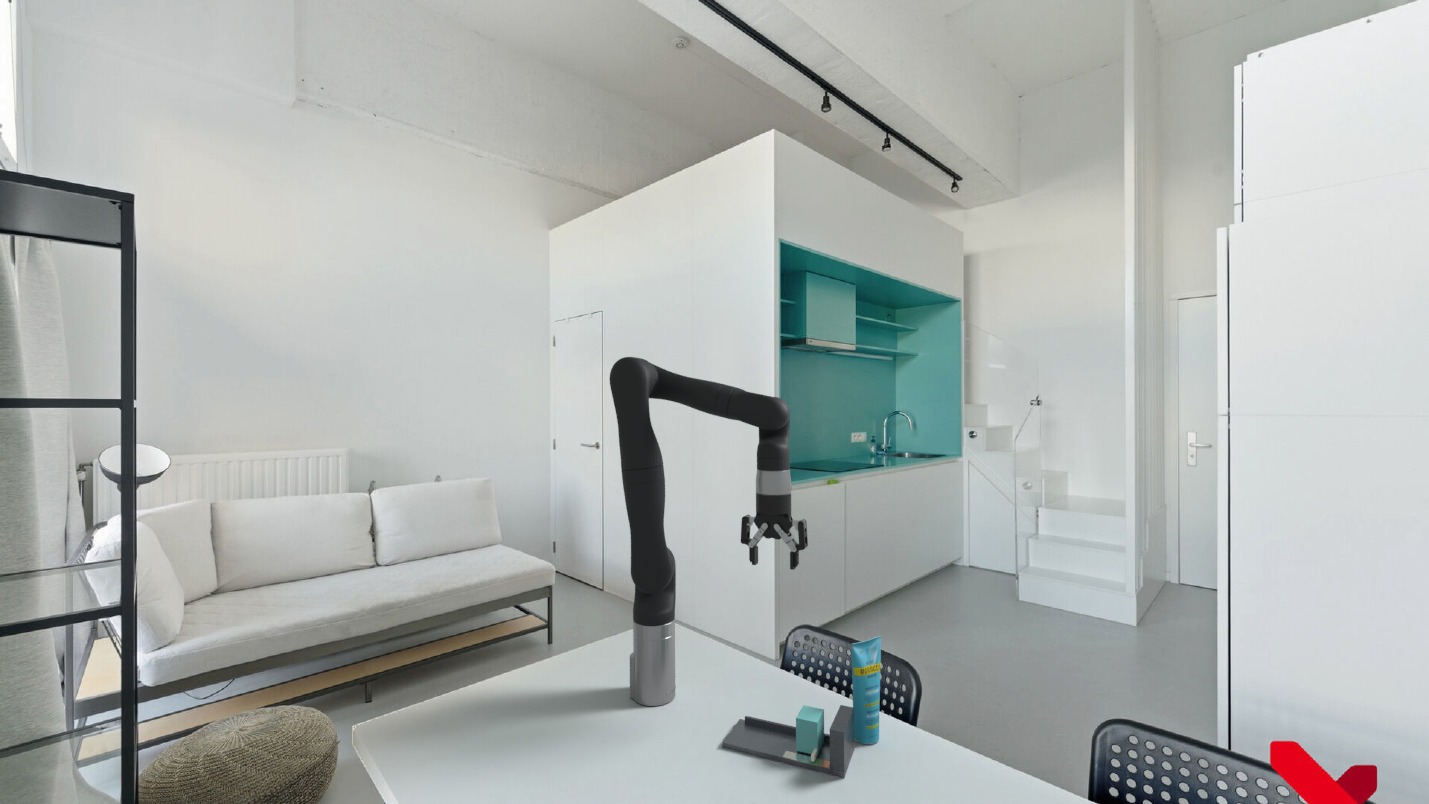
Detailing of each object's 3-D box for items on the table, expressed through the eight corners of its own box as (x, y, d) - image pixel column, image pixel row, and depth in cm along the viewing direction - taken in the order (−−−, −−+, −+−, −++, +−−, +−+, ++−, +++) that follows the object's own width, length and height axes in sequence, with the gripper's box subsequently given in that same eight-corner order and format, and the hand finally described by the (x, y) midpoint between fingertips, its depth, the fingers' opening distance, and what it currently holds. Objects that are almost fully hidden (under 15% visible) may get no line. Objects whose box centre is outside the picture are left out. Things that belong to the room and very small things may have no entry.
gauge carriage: (792, 757, 107) (792, 724, 107) (803, 736, 114) (803, 705, 114) (814, 762, 106) (814, 729, 106) (824, 741, 112) (824, 709, 112)
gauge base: (722, 747, 113) (722, 705, 113) (739, 723, 121) (739, 684, 121) (844, 778, 103) (843, 732, 103) (854, 750, 112) (853, 707, 112)
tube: (862, 750, 112) (861, 647, 111) (843, 738, 116) (843, 639, 116) (889, 737, 116) (888, 638, 116) (870, 726, 120) (869, 630, 120)
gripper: (735, 491, 127) (736, 567, 127) (801, 495, 121) (801, 575, 121) (748, 486, 133) (748, 558, 133) (810, 489, 128) (811, 565, 128)
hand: (773, 566), depth 127 cm, fingers open, 8 cm apart
